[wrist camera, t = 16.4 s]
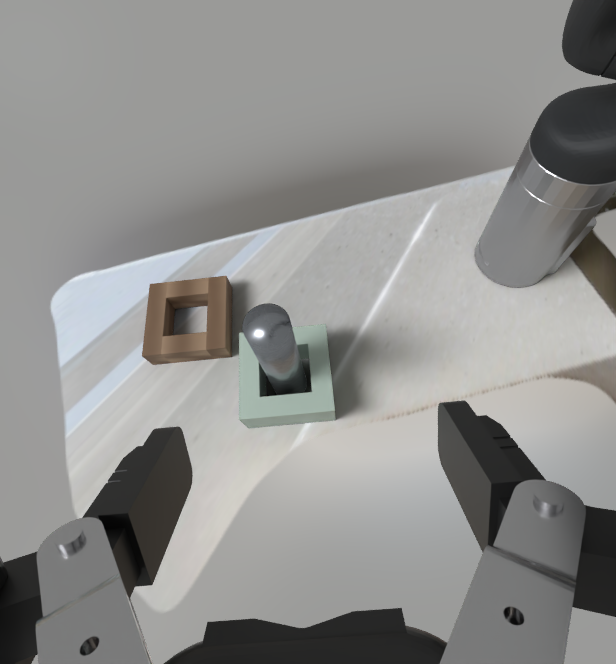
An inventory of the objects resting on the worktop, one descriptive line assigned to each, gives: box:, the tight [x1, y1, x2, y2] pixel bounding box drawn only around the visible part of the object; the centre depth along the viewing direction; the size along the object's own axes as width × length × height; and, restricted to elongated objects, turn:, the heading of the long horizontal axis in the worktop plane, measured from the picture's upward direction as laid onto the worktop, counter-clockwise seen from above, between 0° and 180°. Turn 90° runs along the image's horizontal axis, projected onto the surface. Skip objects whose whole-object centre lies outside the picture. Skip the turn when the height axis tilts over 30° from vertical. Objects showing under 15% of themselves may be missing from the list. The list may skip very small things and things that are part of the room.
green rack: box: [239, 324, 336, 428], centre depth 45 cm, size 10×10×4 cm
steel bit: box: [242, 304, 307, 395], centre depth 40 cm, size 4×4×16 cm
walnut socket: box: [142, 276, 232, 365], centre depth 50 cm, size 10×10×3 cm
